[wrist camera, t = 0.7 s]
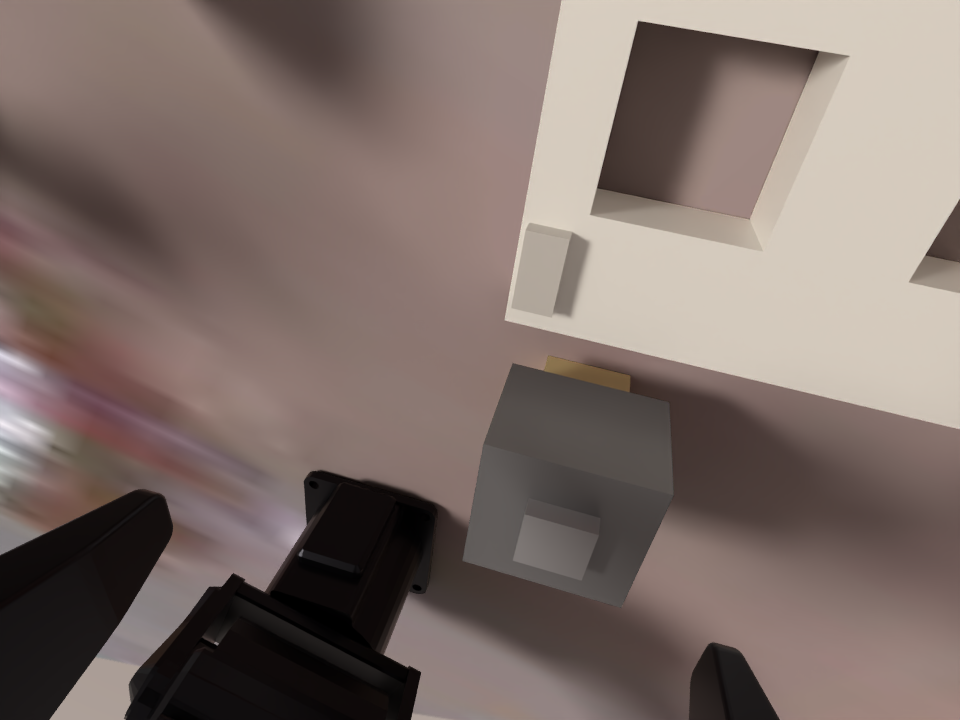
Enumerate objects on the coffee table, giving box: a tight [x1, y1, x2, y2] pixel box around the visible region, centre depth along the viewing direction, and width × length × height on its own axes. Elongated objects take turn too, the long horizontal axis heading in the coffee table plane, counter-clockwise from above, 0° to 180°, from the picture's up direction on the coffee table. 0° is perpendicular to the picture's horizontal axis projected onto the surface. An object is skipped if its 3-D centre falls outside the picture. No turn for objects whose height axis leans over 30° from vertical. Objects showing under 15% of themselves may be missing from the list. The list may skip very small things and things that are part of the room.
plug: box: [462, 356, 674, 608], centre depth 19 cm, size 5×5×7 cm
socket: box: [505, 0, 960, 429], centre depth 14 cm, size 12×16×3 cm
